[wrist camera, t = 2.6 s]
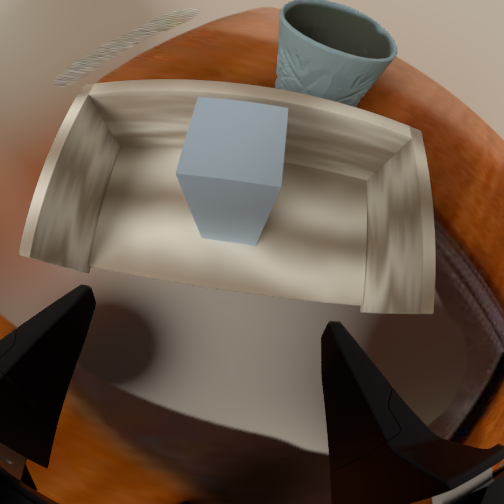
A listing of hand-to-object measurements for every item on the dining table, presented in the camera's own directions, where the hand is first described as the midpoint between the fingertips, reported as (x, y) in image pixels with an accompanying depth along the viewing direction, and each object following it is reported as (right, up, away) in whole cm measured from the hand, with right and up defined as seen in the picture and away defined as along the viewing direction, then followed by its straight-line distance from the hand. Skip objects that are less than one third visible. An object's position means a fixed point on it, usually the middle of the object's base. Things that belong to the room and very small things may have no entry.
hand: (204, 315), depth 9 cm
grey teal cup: (+8, +19, +18) cm, 27 cm away
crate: (0, +5, +15) cm, 15 cm away
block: (0, +5, +14) cm, 15 cm away
